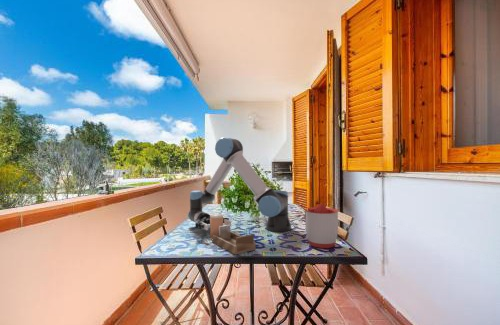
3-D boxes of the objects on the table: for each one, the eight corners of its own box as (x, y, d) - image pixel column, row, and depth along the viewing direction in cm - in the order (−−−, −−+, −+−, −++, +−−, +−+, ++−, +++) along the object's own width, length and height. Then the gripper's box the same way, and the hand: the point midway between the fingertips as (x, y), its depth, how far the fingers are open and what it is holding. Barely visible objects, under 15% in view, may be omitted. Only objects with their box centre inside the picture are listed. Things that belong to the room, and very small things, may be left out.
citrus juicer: (306, 238, 134) (306, 200, 134) (341, 242, 126) (340, 202, 126) (297, 246, 120) (297, 204, 120) (335, 252, 112) (335, 207, 112)
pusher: (218, 239, 128) (218, 226, 128) (229, 237, 131) (229, 224, 132) (220, 240, 127) (220, 226, 127) (230, 238, 130) (230, 225, 131)
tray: (212, 242, 129) (212, 228, 129) (231, 238, 135) (231, 225, 135) (235, 254, 110) (235, 238, 110) (255, 249, 117) (255, 234, 117)
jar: (223, 235, 140) (223, 213, 140) (223, 239, 133) (222, 216, 133) (210, 235, 140) (210, 214, 140) (209, 239, 133) (209, 216, 133)
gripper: (221, 222, 158) (239, 229, 141) (182, 228, 144) (197, 236, 127) (221, 210, 158) (239, 215, 141) (182, 214, 144) (197, 221, 127)
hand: (219, 225), depth 134 cm, fingers open, 13 cm apart
